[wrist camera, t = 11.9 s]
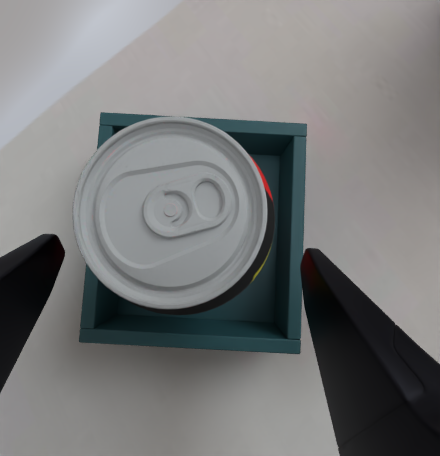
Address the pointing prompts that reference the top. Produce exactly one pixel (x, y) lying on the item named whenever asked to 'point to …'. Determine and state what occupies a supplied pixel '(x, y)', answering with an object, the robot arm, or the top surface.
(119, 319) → the tote
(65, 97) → the top surface
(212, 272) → the beverage can
